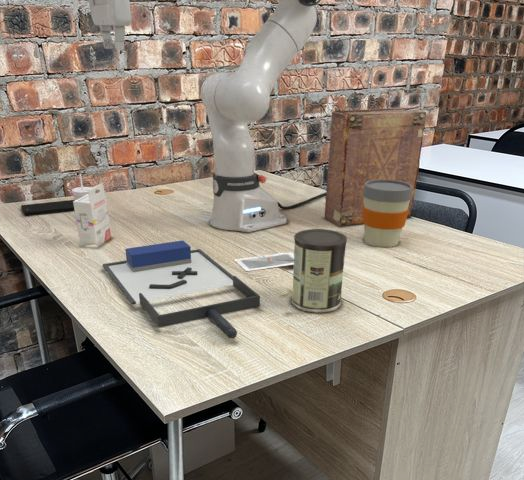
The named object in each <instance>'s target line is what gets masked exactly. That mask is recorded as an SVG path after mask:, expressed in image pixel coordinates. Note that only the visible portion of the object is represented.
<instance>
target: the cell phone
mask: <svg viewBox="0 0 524 480" xmlns="http://www.w3.org/2000/svg"><path fill="white" fill-rule="evenodd" d="M73 201H75V199H69V200H57V201H49V202H38V203H28V204H21V205H20V207H21V211H22V212H23V214H24V216H31V215H32V216H33V215H40V214H49V213H58V212H59V213H61V212H69V211H75V210H74V204H73Z"/></svg>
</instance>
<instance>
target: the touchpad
mask: <svg viewBox="0 0 524 480" xmlns="http://www.w3.org/2000/svg"><path fill="white" fill-rule="evenodd" d="M234 261H235V262H236V263H237V264H238V265H239V266H240V267H241V268H242V269H243V270H244V271H245V272H252V271H259V270H265V269H273V268H279V267H280V268H281V267H289V266H294V253H293V252H292V251H289V252H288V251H287V252H280V253H273V254H267V255H266V254H265V255H259V256H251V257H244V258H236V259H234Z"/></svg>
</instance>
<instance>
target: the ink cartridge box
mask: <svg viewBox="0 0 524 480" xmlns="http://www.w3.org/2000/svg"><path fill="white" fill-rule="evenodd" d="M95 191H96V193H95V194H94V192H95ZM97 191H98V192H97ZM74 200H75V199H74ZM73 204H74V210H73V211H74V216H75V221H76V228H77V233H78V239H79V246H80V247H85V246H92V245H99V244H105V243H106V242H107V241H109V240H110V239H112V234H111V226H110V218H109V210H108V201H107V194H106V191H105V185H104V182H101V183H99V184H97V185H95V186H93V188H91V189H89V190H88V194H87V195H85V196H83V197H81V198H79V199H77V200H75V201H73Z"/></svg>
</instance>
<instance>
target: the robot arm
mask: <svg viewBox="0 0 524 480" xmlns="http://www.w3.org/2000/svg"><path fill="white" fill-rule="evenodd" d="M321 1H322V0H279V1H278V4H277V6H276V7H275V10H274V12H273V13H272V14H271V15H270V16H269V17H268V18H267V19H266V21H265V22H264V24H262V25H261V27H260V28H259V30H258V31H256V33H255V35H254V36H253V37H252V38H251V40H250V41H249V42H248V43H247V44H246V47H245V53H244V57H243V58H242V60H241V63H240V64H239V66H238V68H237V69H236V70H235V71H234V72H226V71H219V72H217V73H213V74H212V75H209V76H208V77H207V78H206V79H205V80H204V81H203V83H202V85H201V88H200V98H201V101H202V103H203V105H204V107H205V110H206V114H207V119H208V124H209V128H210V133H211V138H212V139H211V140H212V147H213V171H214V172H213V173H212V193H213V204H212V211H211V216H210V219H209V225H211V226H212V227H213V228H216V229H221V230H224V231H225V230H226V231H238V232H243V233H252V232H256V231H260V230H265V229H268V228H272V227H277V226H281V225H285V224H287V223H288V220H287V217H286V216H285V215H284V214H282V213H280V209H281V210H283V211H284V210H291V209H295V208H297V207H301V206H304V205H306V204H308V203H311V202H313V201H315V200H318V199H320V198H323V197H326V192H323V193H320V194H318V195H315V196H313V197H311V198H308V199H306V200H302V201H300V202H298V203H297V202H296V203H294V204H292V205H289V206H284V205H282V204H281V203H280V202H279V201H277V199H276V198H275V197H274V196H273V195H272V194H270V193H269V192H268V191H266V189H264V188H263V187H262V186H260V183H261V184H266V182H267V177H266V176H265V175H263V174H258V173H256V172H255V143H254V140H253V138H252V135H251V133H250V131H249V130H250V129H249V126H248V124H249V123H254V122H255V123H256V122H258V121H260V120H262V119H263V118H264V117H265V115H266V114H267V112H268V111H269V107H270V102H271V98H270V97H271V93H272V92H273V89H274V87H275V85H276V83H277V82H278V80H279V78H280V77H281V75H282V74H283V73H284V72H285V70H286V69H287V68H288V66H289V65H290V64H291V63H292V62H293V60H294V59H295V58H296V56H297V55H298V54H299V52H300V51H302V49H303V47H304V46H305V44H306V43H307V41H308V40H309V38H310V36H311V35H312V33H313V31H314V29H315V28H316V25H317V21H318V15H317V10H316V9H315V7H314V6H316V5H318V4H319V3H321ZM130 3H131V2H130V0H88V5H89V10H90V15H91V19H92V21H93V25H94V26H99V29H100V34H101V38H102V41H103V42H102V43H103V48H104V49H106V50H113V49H115V51H125V36H126V28H125V27H130V26H131V25H132V10H131V4H130ZM111 26H113V27H111ZM112 29H113V33H114V34H113V35H114V41H113V39H112V33H111V32H112Z"/></svg>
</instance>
